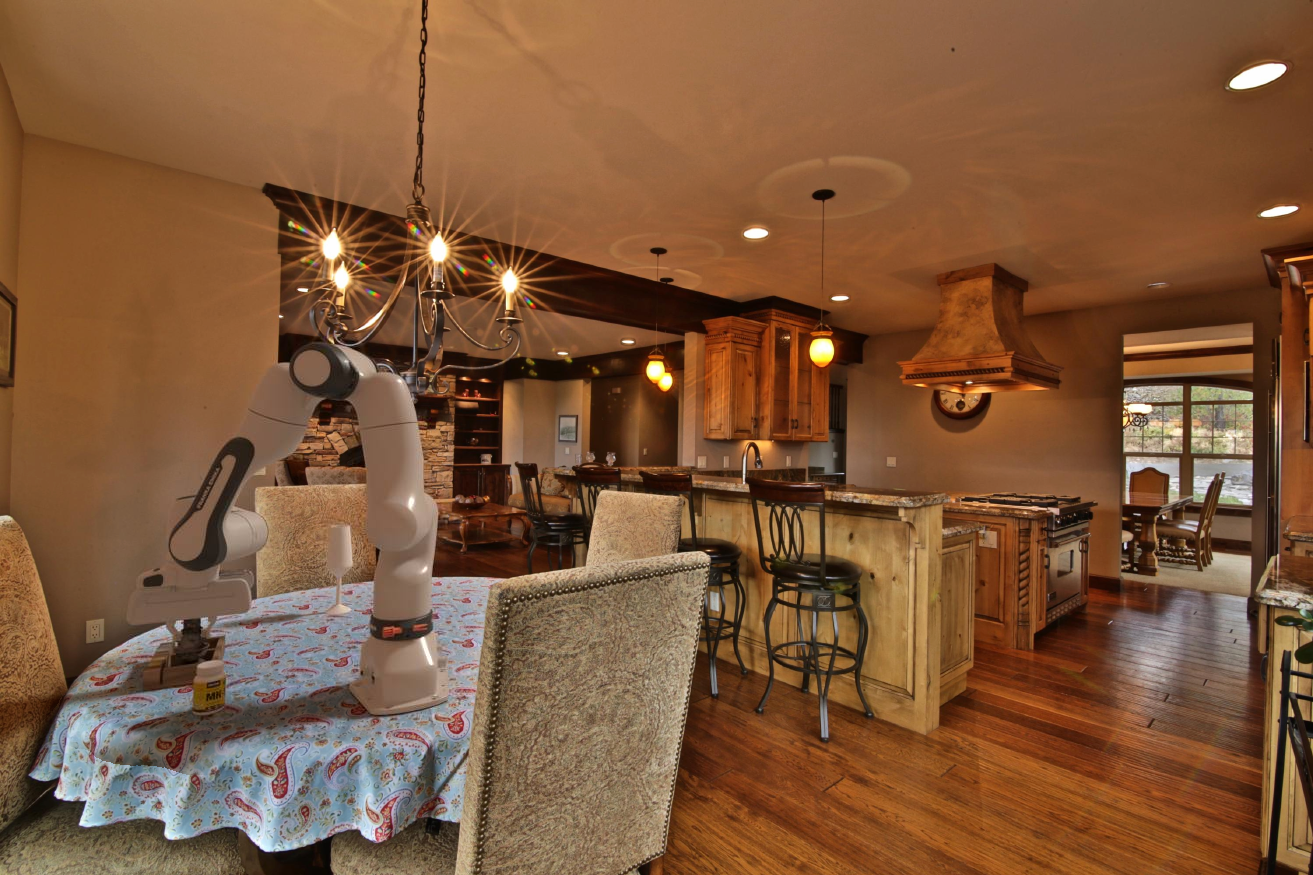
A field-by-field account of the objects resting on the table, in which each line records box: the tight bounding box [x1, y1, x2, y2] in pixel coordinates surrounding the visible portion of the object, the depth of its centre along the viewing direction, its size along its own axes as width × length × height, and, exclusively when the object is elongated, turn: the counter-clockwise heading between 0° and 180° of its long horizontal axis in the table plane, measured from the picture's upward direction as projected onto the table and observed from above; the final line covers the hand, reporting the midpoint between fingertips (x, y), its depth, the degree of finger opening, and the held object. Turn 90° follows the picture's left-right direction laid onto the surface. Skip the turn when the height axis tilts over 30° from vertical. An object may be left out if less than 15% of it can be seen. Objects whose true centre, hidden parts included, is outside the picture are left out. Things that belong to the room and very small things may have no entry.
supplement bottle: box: [192, 660, 227, 716], centre depth 109 cm, size 5×5×8 cm
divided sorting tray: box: [142, 635, 226, 692], centre depth 126 cm, size 18×12×4 cm, turn 31°
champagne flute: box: [324, 524, 354, 615], centre depth 169 cm, size 7×7×24 cm
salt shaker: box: [173, 618, 209, 666], centre depth 123 cm, size 6×6×12 cm
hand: (191, 639), depth 123 cm, fingers closed on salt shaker, 3 cm apart
